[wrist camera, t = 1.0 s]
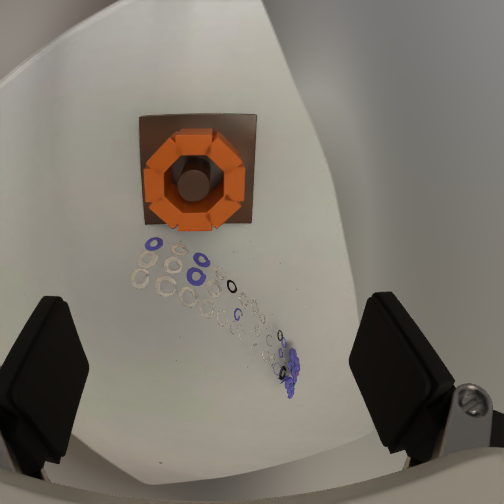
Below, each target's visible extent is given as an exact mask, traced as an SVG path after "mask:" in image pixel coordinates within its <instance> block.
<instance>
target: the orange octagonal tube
mask: <svg viewBox="0 0 504 504" xmlns="http://www.w3.org/2000/svg"><path fill="white" fill-rule="evenodd" d="M187 155H207V156H208V157H209V158H210V159H211V160H212V161H213V162H214V163H215V164H216V165H217V166H218V167H219V168H220V169H221V170H222V182H221V183H220V184H219V185H218V186H217V187H216V188H214V189H213V190H212V191H211V192H210V193H209V194H208V195H207V196H206V197H205V198H203V199H202V200H199V201H194V202H193V201H188V200H186V199H184V198H183V197H182V196H181V195H180V194H179V192H178V189H177V186H176V185H175V184H174V183H173V182H172V172H171V165H172V164H173V163H174V162H175V161H176V160H177V159H178V158H179V157H180V156H187ZM146 165H147V166H146V167H145V168H144V187H145V201H146V202H151V203H150V205H149V209H150V210H152V211H153V212H154V213H155V214H156V215H157V216H158V217H160V218H161V219H162V220H163V221H164V222H165V223H166V224H168V225H169V226H170V227H171V228H172V229H174V228H175V227H176V226H177V225H178V231H212V225H213V226H214V227H215V228H216V229H217V228H218V227H220V226H221V225H222V224H223V223H224V222H225V221H226V220H227V219H228V218H229V217H230V216H232V215H233V214H234V213H235V212H236V211H237V210H238V209H239V208H240V207H241V202H240V201H244V189H245V166H244V163H243V161H242V159H241V156H240V154H239V151H238V150H237V149H236V148H235V147H234V146H233V145H232V144H231V143H230V142H229V141H228V140H227V139H226V138H225V137H224V136H223V135H222V134H221V133H220V132H219V131H216V132H215V133H214V134H213V128H192V129H181V130H180V131H179V132H177V131H176V132H175V133H174V134H173V135H172V136H171V137H170V138H169V139H168V140H167V141H166V142H165V143H164V144H163V145H162V146H161V147H160V148H159V149H158V150H157V151H156V152H155V153H154V154H153V156H152V157H151V158H150V159H149V160H148V161H147V162H146Z"/></svg>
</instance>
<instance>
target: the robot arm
mask: <svg viewBox="0 0 504 504" xmlns="http://www.w3.org/2000/svg"><path fill="white" fill-rule="evenodd" d="M349 366H350V369H351V371H352V373H353V376H354V378H355V380H356V383H357V385H358V387H359V389H360V392H361V394H362V396H363V399H364V401H365V404H366V406H367V408H368V411H369V413H370V415H371V418H372V420H373V423H374V425H375V427H376V430H377V432H378V435H379V437H380V440H381V442H382V444H383V445H384V446H385V447H388V449H389V451H390V454H392V453H396V452H399V451H402V450H405V451H406V453H407V455H408V456H407V459H406V462H405V464H404V467H403V470H402V471H399V472H395V473H392V474H389V475H385V476H381V477H378V478H374V479H371V480H367V481H363V482H359V483H355V484H351V485H346V486H342V487H337V488H332V489H327V490H322V491H316V492H311V493H304V494H298V495H291V496H283V497H274V498H265V499H254V500H237V501H172V500H156V499H144V498H135V497H126V496H118V495H111V494H105V493H99V492H94V491H88V490H83V489H78V488H74V487H69V486H65V485H60V484H56V483H52V482H50V480H49V478H48V476H47V474H46V472H45V470H44V468H43V467H44V463H45V461H47V462H51V463H56V464H60V459H61V457H63V456H65V454H66V450H67V447H68V443H69V439H70V435H71V431H72V427H73V424H74V420H75V416H76V413H77V409H78V406H79V402H80V399H81V395H82V392H83V389H84V386H85V382H86V379H87V376H88V373H89V363H88V360H87V357H86V355H85V352H84V350H83V347H82V344H81V342H80V339H79V336H78V333H77V330H76V327H75V325H74V322H73V319H72V316H71V312H70V309H69V306H68V304H67V302H65V301H63V299H62V298H61V297H59V296H44V297H43V298H42V299H41V300H40V302H39V303H38V305H37V307H36V308H35V310H34V311H33V313H32V315H31V316H30V318H29V319H28V321H27V323H26V324H25V326H24V328H23V329H22V331H21V333H20V334H19V336H18V338H17V340H16V341H15V343H14V345H13V347H12V348H11V350H10V352H9V354H8V356H7V357H6V359H5V361H4V363H3V365H2V367H1V369H0V504H504V414H503V413H500V412H498V411H495V410H493V405H492V400H491V398H490V396H489V395H488V393H487V392H486V391H485V390H484V389H483V388H481V387H479V386H477V385H475V384H470V383H467V384H462V385H460V386H458V387H457V388H455V386H454V385H453V384H454V382H455V380H454V378H453V377H452V375H451V374H450V372H449V371H448V369H447V368H446V367H445V365H444V363H443V362H442V360H441V359H440V358H439V356H438V354H437V353H436V352H435V350H434V349H433V347H432V346H431V344H430V343H429V342H428V340H427V339H426V337H425V336H424V335H423V333H422V332H421V330H420V329H419V327H418V326H417V325H416V323H415V322H414V321H413V319H412V318H411V317H410V315H409V314H408V312H407V311H406V310H405V308H404V307H403V306H402V304H401V303H400V302H399V300H397V298H396V296H395V295H394V294H393V293H392V292H377V293H374V294H373V295H372V297H370V298H368V300H367V302H366V306H365V309H364V313H363V316H362V320H361V323H360V326H359V329H358V332H357V335H356V338H355V341H354V345H353V348H352V351H351V354H350V357H349Z"/></svg>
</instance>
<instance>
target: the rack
mask: <svg viewBox="0 0 504 504" xmlns="http://www.w3.org/2000/svg"><path fill="white" fill-rule="evenodd" d="M256 123H257V115H255V114H231V113H197V114H165V115H147V116H141V117H139V133H140V160H141V179H142V194H143V207H144V219H145V225H147V224H166V223H165V222H164V221H163V220H162V219H161V218H160V217H158V216H157V215H156V214H155V213H154V212H153V211H152V210H150V209H149V205H150V203H151V202H146V201H145V187H144V168H145V167H146V166H147V165H146V162H147V161H148V160H149V159H150V158H151V157H152V156H153V154H154V153H155V152H156V151H157V150H158V149H159V148H160V147H161V146H162V145H163V144H164V143H165V142H166V141H167V140H168V139H169V138H170V137H171V136H172V135H173V134H174V133H175V132H176V131H177V132H179V131H180V130H181V129H192V128H213V134H214V133H215V132H216V131H219V132H220V133H221V134H222V135H223V136H224V137H225V138H226V139H227V140H228V141H229V142H230V143H231V144H232V145H233V146H234V147H235V148H236V149H237V150H238V151H239V154H240V156H241V159H242V161H243V163H244V166H245V189H244V201H240V202H241V207H240V208H239V209H238V210H237V211H236V212H235V213H234V214H233V215H232V216H230V217H229V218H228V219H227V220H226V221H225V222H224V223H252V206H253V185H254V164H255V144H256ZM171 172H172V182H173V183H174V184H175V185H176V186H177V189H178V192H179V194H180V195H181V196H182V197H183V198H184V199H186V200H188V201H193V202H194V201H199V200H202V199H203V198H205V197H206V196H207V195H208V194H209V193H210V192H211V191H212V190H213V189H214V188H216V187H217V186H218V185H219V184H220V183H221V182H222V170H221V169H220V168H219V167H218V166H217V165H216V164H215V163H214V162H213V161H212V160H211V159H210V158H209V157H208V156H207V155H187V156H180V157H179V158H178V159H177V160H176V161H175V162H174V163H173V164H172V165H171Z"/></svg>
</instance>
